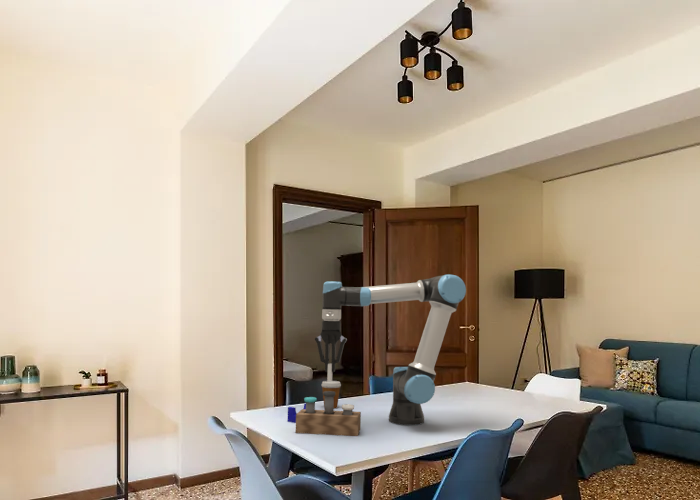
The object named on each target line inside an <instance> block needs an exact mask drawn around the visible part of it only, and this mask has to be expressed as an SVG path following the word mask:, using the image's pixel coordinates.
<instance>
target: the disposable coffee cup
mask: <svg viewBox="0 0 700 500" xmlns="http://www.w3.org/2000/svg"><path fill="white" fill-rule="evenodd" d="M341 386H342V384H341V382H340V381H337V380H332V381H327V380H323V381H322V382H321V388H322V393H323V392H325V391H334V392H335V396H334V409H338V404H339V395H340V389H341ZM322 398H323V399H322V400H323V406H324V405H325V396H323V395H322Z"/></svg>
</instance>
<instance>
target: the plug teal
mask: <svg viewBox="0 0 700 500" xmlns="http://www.w3.org/2000/svg"><path fill="white" fill-rule="evenodd" d="M303 399H304V403H306V413H313V414H315V410H316V402H318V401H317V397H315V396H309V397H307V396H306V397H304V398H303Z"/></svg>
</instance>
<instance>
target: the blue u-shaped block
mask: <svg viewBox="0 0 700 500" xmlns="http://www.w3.org/2000/svg"><path fill="white" fill-rule="evenodd" d="M296 408H297V407H294V406H289V407H287V421H286V422H288V423H293V424H296V414H297V413H298V412H297V410H296ZM303 409H306V402H304V403H303Z"/></svg>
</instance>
